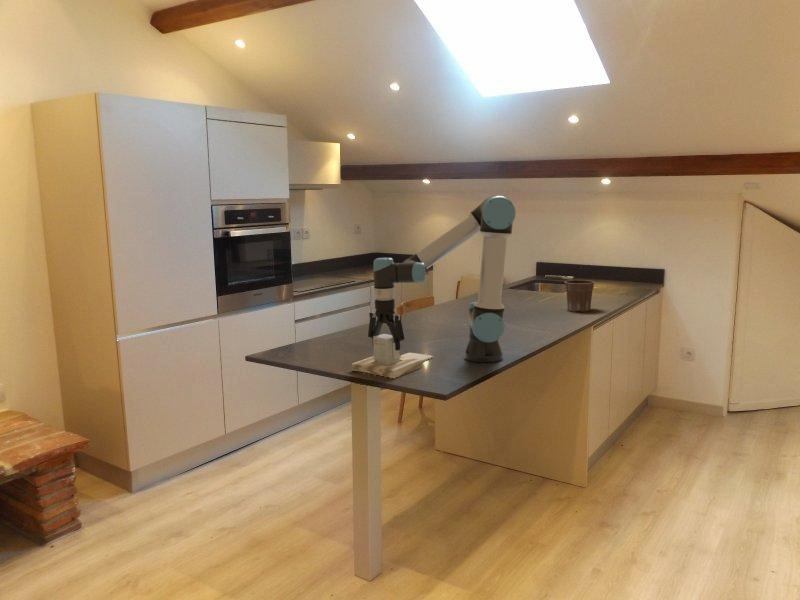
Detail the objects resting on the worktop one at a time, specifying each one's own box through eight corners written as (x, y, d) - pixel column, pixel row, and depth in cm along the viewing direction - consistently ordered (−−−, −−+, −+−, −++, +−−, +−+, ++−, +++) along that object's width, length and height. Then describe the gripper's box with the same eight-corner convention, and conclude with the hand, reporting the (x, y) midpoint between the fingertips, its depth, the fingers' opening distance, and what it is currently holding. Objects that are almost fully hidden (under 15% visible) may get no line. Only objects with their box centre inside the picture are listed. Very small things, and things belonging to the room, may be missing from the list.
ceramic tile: (433, 357, 256) (433, 355, 256) (419, 363, 248) (419, 361, 248) (409, 354, 263) (409, 352, 263) (395, 359, 255) (394, 357, 255)
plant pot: (575, 306, 360) (575, 278, 357) (600, 309, 347) (600, 281, 345) (558, 310, 349) (558, 281, 347) (582, 314, 337) (583, 284, 334)
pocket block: (421, 367, 242) (421, 359, 242) (393, 378, 228) (393, 370, 228) (381, 360, 254) (380, 353, 254) (352, 371, 240) (351, 363, 240)
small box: (400, 369, 241) (399, 336, 239) (388, 372, 236) (387, 339, 234) (385, 365, 246) (384, 333, 244) (373, 369, 242) (372, 336, 240)
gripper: (356, 298, 240) (359, 355, 244) (401, 302, 228) (403, 362, 231) (369, 295, 246) (371, 351, 250) (413, 299, 233) (414, 358, 237)
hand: (386, 356), depth 241 cm, fingers closed on small box, 8 cm apart
